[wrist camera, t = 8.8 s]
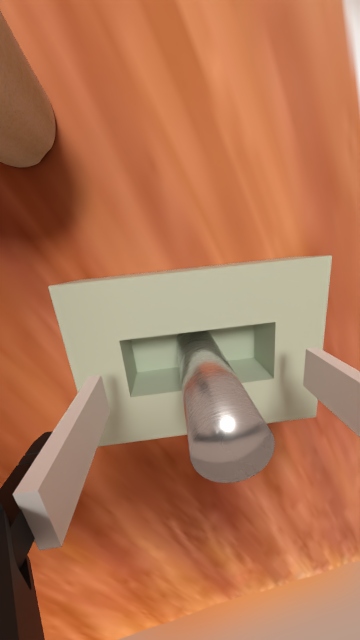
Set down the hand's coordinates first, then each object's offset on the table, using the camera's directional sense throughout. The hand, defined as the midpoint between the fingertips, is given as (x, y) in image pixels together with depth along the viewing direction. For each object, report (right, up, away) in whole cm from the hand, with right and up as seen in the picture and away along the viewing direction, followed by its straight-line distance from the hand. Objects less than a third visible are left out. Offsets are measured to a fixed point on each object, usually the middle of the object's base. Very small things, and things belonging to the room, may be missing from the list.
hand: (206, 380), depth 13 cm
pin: (0, +2, +7) cm, 7 cm away
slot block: (0, +2, +8) cm, 8 cm away
